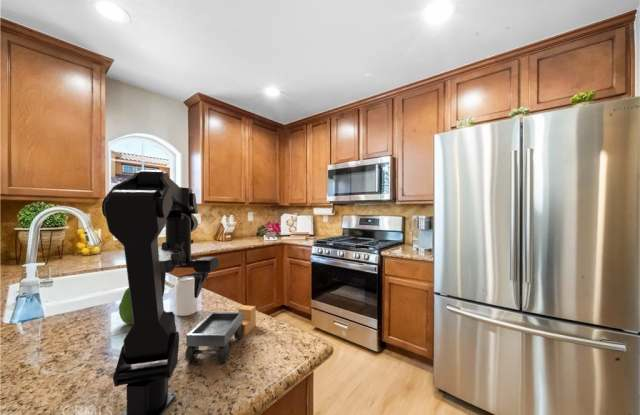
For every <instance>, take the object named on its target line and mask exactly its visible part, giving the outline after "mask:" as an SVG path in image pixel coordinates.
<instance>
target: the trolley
mask: <svg viewBox="0 0 640 415" xmlns="http://www.w3.org/2000/svg"><path fill="white" fill-rule="evenodd" d="M242 322H243V312H239V311H237V312H233V311H232V312H230V311H229V312H227V311H226V312H225V311H224V312H221V311H218V312H217V311H215V312H214V311H213V312H212V311H211V312H210V313H209V314H208V315H207V316H206V317H204V319H202V320H201V321H200V322H199V323H197V325H195V327H193V328H192V329H191V331H189V332H188V333H187V334H186V335H185V337H186V338H185V339H186V340H185V343H186V345H185V346H186V349H185V353H184V354H185V355H184V359H185V362H186V363H187V362H190V363H191V362H192V363H193V362H194V361H195V360H197V357H198V355H199V354H200V355H217V359H218V360H217V361H218V362H219V363H226V362H227V361H228V358H229V356H230V352H231V351H230V348H231V346H230V343H229V342H230V340H231V339H232V338H233V337H234V339H235V340H241V339H242V338H243V336H244V335H243V323H242ZM200 347H207V348H208V347H219V349H200Z"/></svg>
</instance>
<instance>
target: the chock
mask: <svg viewBox="0 0 640 415" xmlns="http://www.w3.org/2000/svg"><path fill="white" fill-rule="evenodd" d="M256 310H257V307H256V305H242V306H241V307H239V308H238V312H243V322H242V323H243V335H242V336H246V335H247V334H248V333H249V332H250V331H252V330H253V329H254V328H255V327H256V324H257V323H256V320H257V319H256V318H257V317H256V316H257V314H256Z"/></svg>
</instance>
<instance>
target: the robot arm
mask: <svg viewBox="0 0 640 415" xmlns="http://www.w3.org/2000/svg"><path fill="white" fill-rule="evenodd" d="M196 197H197V195H196V194H195V192H193V189H191V187H180V186H179V185H178V184H177V183H176V182H174V180H172V179H171V178H170V174H169V173H168V172H166V171H164V170H152V169H151V170H150V169H149V170H148V169H146V170H145V169H141V170H140V171H139V170H138V171H135V173H134V174H133V176H131V177H129V178H128V179H125V180H124V181H121V182H119V183H117V184H115V185H114V186H112V188H110V190H109V191H108V193H107V194H106V196H105V197H104V198H103V201H102V203H101V211H102V214H103V217H104V218H105V220H106V225H107V229H108V232H109V233H110V234H111V235H112V236H113V238H115V239H116V240H117V242H119V243H120V244H121V245H122V246H123V249H124V257H125V258H124V260H125V264H126V265H125V267H126V274H127V282H128V283H127V284H128V288H129V292H130V300H131V308H132V316H133V324H132V326H131V327H130V329H129V330H128V332H127V334H126V335H125V337H124V339H123V344H122V346H121V349H120V353H119V356H118V360H117V363H116V367H115V370H114V373H113V377H112V380H113V384H114V387H115V388H116V387H119V386H124V385H126V386H125V387H126V388H125V389H126V409H125V411H124V412H123V413H121V415H163V413H164V412H165V410H166V409H167V408H168V407H169V405H170V404H171V403H172V402H173V400H174V399H175V398H176V396H177V393H176V392H169V379H171V377H172V375H173V373H174V372H175V369H176V366H177V364H178V360H179V359H178V358H179V348H180V345H179V344H180V333H179V331H177V326H176V316H175V315H176V314H175V313H174V311H166V310H165V306H164V295H165V294H164V293H165V287H166V277H167V276H166V275H167V273H168V274H169V273H171V272H173V271H174V269H177V268H179V269H183V268H184V269H190V268H191V269H192V268H193V270H194V271H195V272H193V273H192V276H194V278H195V285H194V296H195V298H197V299H198V297H199V295H200V293H201V291H202V288H203V286H204V285H205V281H206V280H207V277H208V276H209V274H210V273H211V272H213V271H215V270H216V269H217V268H219V265H220V264H219V262H220V261H219V259H218V257H216V256H202V257H199V258H197V259H194V258H195V257H194V254H192V244H194V239H192V233H193V232H194V231H196V229H198V226H199V220H198V219H197V217H196V216H195V215H196V214H199V211H198V210H199V209H198V204H197V198H196ZM193 214H195V215H193ZM164 228H165V241H162V243H161V248H160V250H159V243H158V237H159V235H161V232H162V231H163V229H164ZM165 360H167V361H165ZM160 361H161V362H160ZM140 364H141V365H140ZM133 365H134V366H133Z"/></svg>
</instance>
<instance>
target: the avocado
mask: <svg viewBox="0 0 640 415" xmlns="http://www.w3.org/2000/svg"><path fill="white" fill-rule="evenodd" d="M118 314H119V317H120V319H121V321H122V322H123V323H125V324H127V325H133V316H132V308H131V300H130V292H129V287H128V288H126V289H125V290H124V293H123V295H122V299H121V301H120V303H119V306H118Z"/></svg>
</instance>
